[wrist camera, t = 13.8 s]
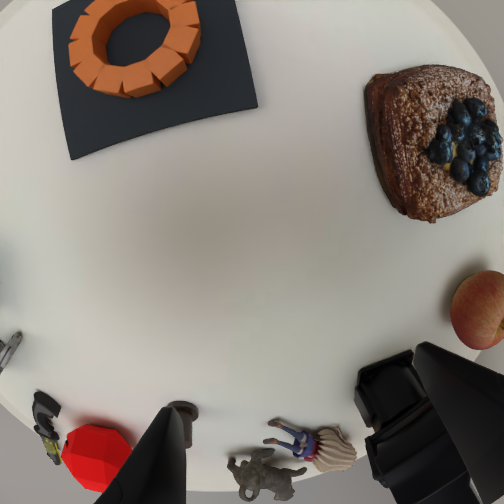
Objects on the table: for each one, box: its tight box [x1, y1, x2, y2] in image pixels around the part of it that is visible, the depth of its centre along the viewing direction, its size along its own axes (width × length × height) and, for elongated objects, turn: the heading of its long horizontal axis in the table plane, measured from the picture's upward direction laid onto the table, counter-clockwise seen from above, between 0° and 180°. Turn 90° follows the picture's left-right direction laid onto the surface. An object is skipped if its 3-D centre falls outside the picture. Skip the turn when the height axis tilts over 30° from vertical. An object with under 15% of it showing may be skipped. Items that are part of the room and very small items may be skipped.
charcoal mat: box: [52, 0, 258, 160], centre depth 13 cm, size 12×12×1 cm
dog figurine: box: [227, 449, 307, 502], centre depth 28 cm, size 12×6×7 cm, turn 41°
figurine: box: [263, 421, 357, 472], centre depth 28 cm, size 6×4×15 cm
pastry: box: [364, 65, 503, 224], centre depth 15 cm, size 11×12×6 cm
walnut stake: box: [167, 401, 198, 449], centre depth 23 cm, size 3×3×4 cm
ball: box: [61, 424, 133, 493], centre depth 23 cm, size 8×8×8 cm
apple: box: [450, 270, 504, 350], centre depth 21 cm, size 8×8×8 cm
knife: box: [32, 391, 62, 465], centre depth 26 cm, size 23×2×5 cm
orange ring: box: [69, 0, 201, 98], centre depth 12 cm, size 7×7×2 cm
